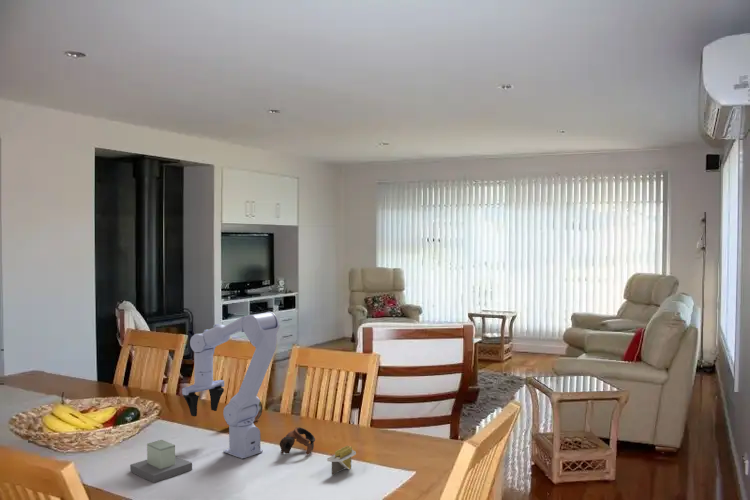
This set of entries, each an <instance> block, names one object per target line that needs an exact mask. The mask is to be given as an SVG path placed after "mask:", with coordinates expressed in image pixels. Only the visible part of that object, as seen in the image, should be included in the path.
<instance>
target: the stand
mask: <svg viewBox="0 0 750 500" xmlns="http://www.w3.org/2000/svg"><path fill="white" fill-rule="evenodd" d="M129 467H130V469H129V471H130V473H132V474H134V475H136V476H139V477H140V478H143V479H145V480H147V481H148V482H150V483H153V484H154V483H156V482H160V481H162V480H163V481H164V480H165V479H168V478H172V477H175V476H177V475H178V476H179V475H180V474H183V473H187V472H190V471H192V470H193V462H191V461H189V460H187V459H184V458H181V457H179V456H177V455H175V465H172V466H169V467H166V468H162V469H159V468H157V467H155V466H153V465H151V464H149V463H147V459H144V460H142V461H141V460H140V461H138V462H134V463H132V464H130V465H129Z"/></svg>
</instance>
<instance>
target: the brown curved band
mask: <svg viewBox="0 0 750 500" xmlns="http://www.w3.org/2000/svg"><path fill="white" fill-rule="evenodd" d="M303 435H304V436H303ZM295 441H296V443H297V442H298V443H299V444H301V445H303V446H305V447H306V448H307V450H306V452H305V455H308V456H309V455H310V454H311V452H312V451H313V450H314V448H315V441H316V438H315V436H314V434H312V433H311V432H310V431H308V430H307V429H306V428H303V427H301V426H300V427H295V428H294V429H293V430H291V431H289V432H288V433H287V434H286V435H285V436H284V437H283V438H281V440H280V441H279V448H280V453H281V454H282V455H284V453H285V454H290V453H291V450H292V448H293V446H294V445H295Z"/></svg>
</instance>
